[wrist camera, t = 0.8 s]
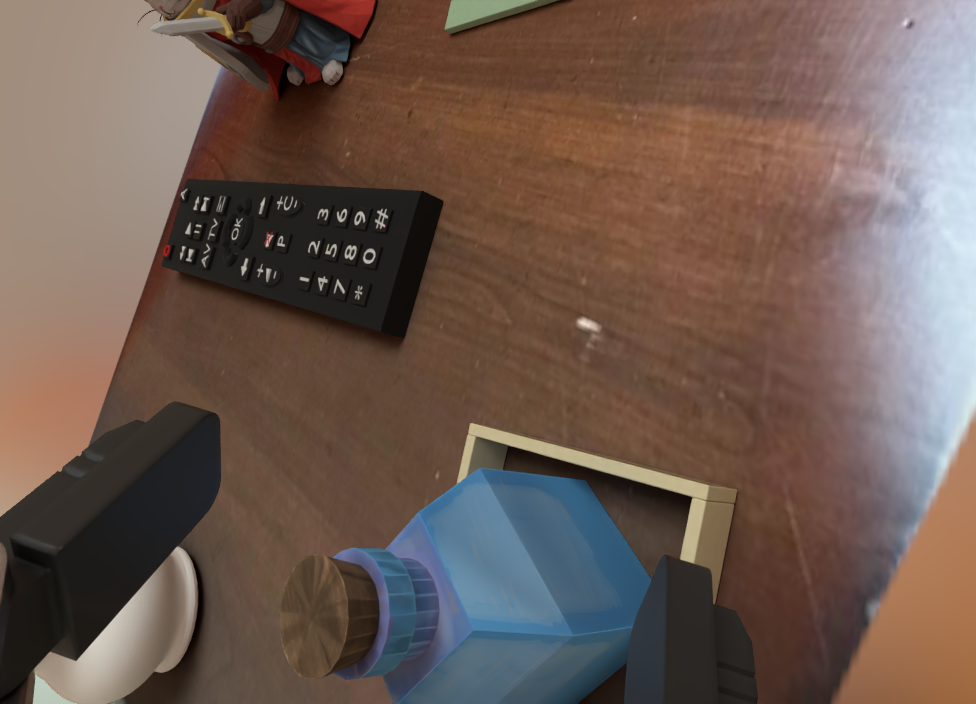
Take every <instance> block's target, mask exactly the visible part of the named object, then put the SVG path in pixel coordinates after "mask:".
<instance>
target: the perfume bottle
mask: <svg viewBox="0 0 976 704" xmlns="http://www.w3.org/2000/svg"><path fill="white" fill-rule="evenodd" d="M651 580H652V579H651V578H650V576H649V575H648V573H647V572H646V570H645V569H644V567H643V566H642V564H641V563H640V561H639V560H638V558H637V557H636V555H635V554H634V552H633V551H632V549H631V548H630V546H629V545H628V543H627V542H626V540H625V539H624V537H623V536H622V534H621V533H620V531H619V530H618V528H617V527H616V525H615V524H614V522H613V521H612V519H611V518H610V516H609V515H608V513H607V512H606V510H605V509H604V507H603V506H602V504H601V503H600V501H599V500H598V498H597V497H596V495H595V494H594V492H593V491H592V489H591V488H590V486H589V485H588V483H587V482H586V480H579V479H571V478H562V477H554V476H545V475H537V474H529V473H520V472H512V471H504V470H495V469H487V468H478V469H477V470H476V471H474V472H473V473H472V474H470V475H469V476H468V477H466V478H465V479H463V480H462V481H461V482H459V483H458V484H457V485H455V486H454V487H452V488H451V489H450V490H448V491H447V492H446V493H444V494H443V495H442V496H440V497H439V498H437V499H436V500H435V501H433V502H432V503H431V504H429V505H428V506H427V507H425V508H424V509H422V510H421V511H420V512H418V514H417V515H416V516H415V517H414V518H413V519H412V520H411V521H410V522H409V524H408V525H407V526H406V527H405V528H404V529H403V530H402V531H401V533H400V534H399V535H398V536H397V537H396V538H395V539H394V540H393V542H392V543H391V544H390V545H389V546H388V547H387V548H386V549H385V550H384V549H380V548H351V549H347V550H344V551H341V552H339V553H338V554H337V555H336V556H335V557H334V558H331V557H327V556H324V555H320V554H313V555H309V556H305V557H304V558H303V559H302V560H301V561H300V562H298V563H297V564H296V565H295V567H294V569H293V570H292V572H291V574H290V575H289V577H288V579H287V582H286V585H285V588H284V591H283V594H282V600H281V606H280V635H281V641H282V646H283V650H284V652H285V655H286V657H287V660H288V662H289V664H290V666H291V667H292V668H293V669H294V671H295V672H296V673H297V674H298V675H299V676H301V677H303V678H305V679H307V680H315V679H321V678H323V677H325V676H327V675H330V674H332V673H334V674H335V675H337V676H339V677H341V678H343V679H345V680H350V679H360V678H366V677H372V676H378V675H382V677H383V680H384V683H385V686H386V688H387V691H388V694H389V697H390V699H391V702H392V704H578V703H579V702H580V701H581V700H583V699H584V698H585V697H586V696H587V695H589V694H590V693H591V692H592V691H593V690H595V689H596V688H597V687H598V686H600V685H601V684H602V683H603V682H604V681H606V680H607V679H608V678H609V677H610V676H612V675H613V674H614V673H615V672H616V671H618V670H619V669H620V668H621V667H623V666H624V665H625V664H626V663H627V655H628V647H629V641H630V636H631V631H632V628H633V624H634V621H635V618H636V615H637V612H638V610H639V608H640V606H641V603H642V601H643V599H644V596H645V594H646V592H647V590H648V587H649V585H650V583H651Z"/></svg>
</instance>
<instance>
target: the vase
mask: <svg viewBox="0 0 976 704" xmlns="http://www.w3.org/2000/svg"><path fill="white" fill-rule="evenodd" d="M197 609H198V582H197V579H196V572H195V569H194V566H193V563H192V561H191V559H190V557H189V555H188V554H187V553H186V551H185V550H184V549H182V548H180V547H178V546H177V547H176V548H175V550H174V551H173V552H172V553H171V554H170V555H169V556H168V558H167V559H166V560H165V561H164V562H163V563H162V564H161V565H160V567H159V568H158V569H157V570H156V571H155V572H154V573H153V575H152V576H151V577H150V578H149V579H148V580H147V581H146V583H145V584H144V585H143V586H142V587H141V588H140V589H139V590H138V592H137V593H136V594H135V595H134V596H133V597H132V598H131V600H130V601H129V602H128V603H127V604H126V605H125V606H124V608H123V609H122V610H121V611H120V612H119V613H118V614H117V615H116V617H115V618H114V619H113V620H112V621H111V622H110V623H109V625H108V626H107V627H106V628H105V629H104V630H103V631H102V633H101V634H100V635H99V636H98V637H97V638H96V639H95V640H94V642H93V643H92V644H91V645H90V646H89V647H88V648H87V650H86V651H85V652H84V653H83V654H82V655H81V656H80V658H79V659H78V660H77V661H74V660H71V659H69V658H66V657H63V656H60V655H58V654H55V653H52V652H49V653H48V654H47V656H46V657H45V658H44V659H43V660H42V661H41V662H40V663H39V664H38V665H37V666H36V667H35V668H34V671H35V674H36V675H37V676H38V677H40V678H41V679H43V680H44V681H45V682H46V683H47V684H48V685H49V686H50V687H51V688H52V689H53V690H54V691H55V692H56V693H57V694H59V695H60V696H61V697H63V698H65V699H67V700H69V701H71V702H74V703H77V704H107V703H111V702H114V701H116V700H119V699H121V698H123V697H125V696H127V695H128V694H130V693H131V692H133V691H134V690H136V689H137V688H138V687H139V686H141V685H142V684H143V683H144V682H145V681H146V680H147V679H148V678H149V677H150V676H151V674H152V673H153V672H154V671H155V672H160V673H163V672H167V671H169V670H171V669H172V668H174V667H175V666H176V665H177V664H178V663H179V662H180V660H181V659H182V657H183V655H184V654H185V652H186V650H187V648H188V645H189V643H190V641H191V638H192V634H193V631H194V628H195V622H196V618H197Z"/></svg>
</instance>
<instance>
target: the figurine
mask: <svg viewBox="0 0 976 704" xmlns="http://www.w3.org/2000/svg"><path fill="white" fill-rule="evenodd" d="M145 1H146V2H148V3H149V4H150V5H151V6H152V7H153V8H154V9H155V10H156V11H157V12H158V13H160V14H161V16H162V15H163V18H164V21H162V22H157V23H156V24H155V25H154V26H152V28H151V29H150V30H151V31H153V32H156V33H161V34H165V35H170V36H179V35H181V36H184V37H186V38H187V39H189V40H190V41H191V42H193V43H194V44H195V45H196V47H198V48H199V49H200V50H201V51H202V52H204V53H205V54H207V55H208V56H210V57H211V58H212V59H214V60H215V61H217V62H218V63H219V64H221V65H222V66H224V67H225V68H227V69H229V70H230V71H231V72H233V73H234V74H236V75H237V76H241V77H242V78H243V79H245V80H246V81H248V82H249V83H250V84H252V85H253V86H255V87H256V88H258V89H260V90H262V91H264V92H265V91H266V90H267V88H268V86H269V82H268V79H269V81H270V84H271V86H272V88H273V91H274V98H275V100H276V101H279V96H278V85H279V81H280V78H281V74H282V70H283V68H284V65H285V63H286V62H287V63H289V64H290V66H289V67H288V69H287V77H288V79H289V81H290V82H291V83H293V84H295V85H300V83H301V82H302V81H303V78H305V83H307V84H308V85H309V84H311V83H313V82H317V81H319V80H322V76H323V79H324V82H326V83H328V84H329V85H333V84H335V83H336V82H337V81H338V80H339V79H340V77H341V76H342V73H343V67H342V61H344V62H346V61H347V58H348V53H349V48H350V45H351V44H350V37H349V33H350V34H352V35H353V36H355V37H357V38H358V39H360V38H361V36H362V34H363V32H364V30H365V28H366V26H367V24H368V22H369V21H370V19H371V17H372V14H373V11H374V7H375V4H376V0H145ZM152 11H154V10H152ZM149 12H151V11H149ZM149 12H148V13H149ZM148 13H146V14H148ZM146 14H145V15H146ZM145 15H144V16H145ZM144 16H143V17H144ZM140 20H141V19H140ZM160 20H161V17H160ZM138 22H139V21H138Z"/></svg>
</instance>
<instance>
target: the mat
mask: <svg viewBox="0 0 976 704" xmlns="http://www.w3.org/2000/svg"><path fill="white" fill-rule="evenodd" d="M556 1H559V0H451V5H450V9H449V13H448V18H447V22H446V26H445V30H446V31H447V32H449V33H450V34H452V33H455V32H458V31H462V30H465V29H468V28H471V27H475V26H478V25H481V24H484V23H487V22H491V21H494V20H497V19H500V18H504V17H507V16H510V15H513V14H517V13H520V12H523V11H526V10H530V9H533V8H536V7H539V6H543V5H546V4H549V3H552V2H556Z"/></svg>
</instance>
